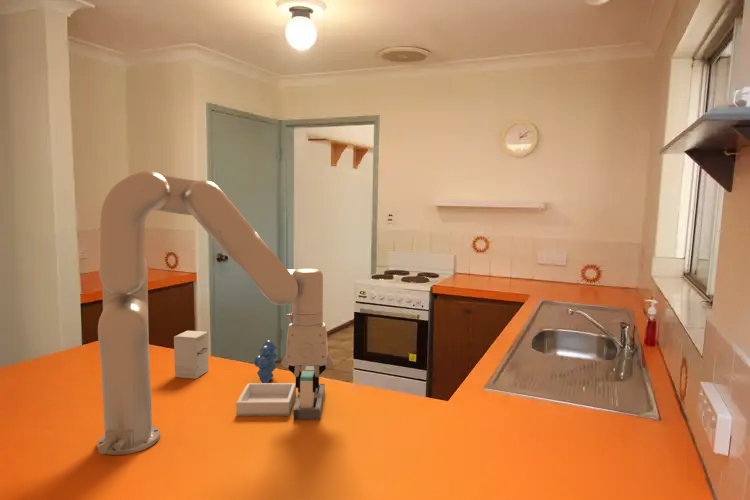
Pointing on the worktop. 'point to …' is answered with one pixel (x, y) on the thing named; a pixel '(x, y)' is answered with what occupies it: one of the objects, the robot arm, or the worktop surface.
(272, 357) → the grapes
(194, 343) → the supplement box
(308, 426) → the worktop surface
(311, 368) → the block
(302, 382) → the block
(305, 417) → the frame
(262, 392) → the tray
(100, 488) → the worktop surface
